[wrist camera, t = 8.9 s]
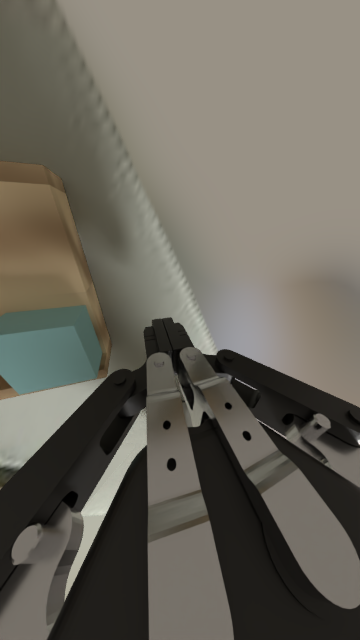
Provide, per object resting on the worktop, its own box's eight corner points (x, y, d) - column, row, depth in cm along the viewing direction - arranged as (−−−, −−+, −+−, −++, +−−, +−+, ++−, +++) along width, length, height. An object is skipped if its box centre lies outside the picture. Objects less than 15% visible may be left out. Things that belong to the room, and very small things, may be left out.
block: (102, 352, 14) (96, 378, 12) (40, 363, 13) (19, 394, 10) (85, 304, 11) (73, 325, 9) (5, 313, 10) (-34, 339, 8)
